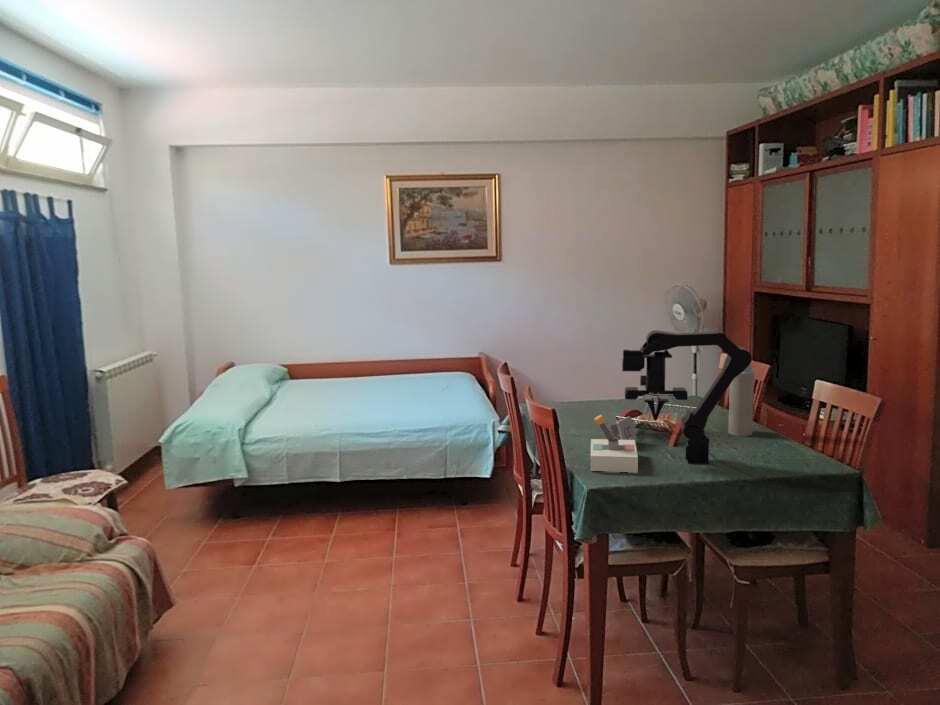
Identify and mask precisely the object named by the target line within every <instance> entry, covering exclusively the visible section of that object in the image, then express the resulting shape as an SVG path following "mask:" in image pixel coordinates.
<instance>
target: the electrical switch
mask: <svg viewBox="0 0 940 705" xmlns="http://www.w3.org/2000/svg"><path fill="white" fill-rule="evenodd" d="M610 429H611V434H612V436H613V437H614V438H618V440H635V444H636V443H637V442H638V439H637V435H636V432H635V428H634V423H633V420H632V416H626V417H624V418H622V419H619V420H618V421H615V422H613V423H612V424H610Z"/></svg>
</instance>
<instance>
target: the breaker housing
mask: <svg viewBox="0 0 940 705" xmlns="http://www.w3.org/2000/svg"><path fill="white" fill-rule="evenodd" d="M614 439H616V441H617V442H609V441H608V439H606V438H604V439H603V438H600V439H599V438H591V439H590V472H591V471H608V472H607V473H610V472H609V471H612V472H611V473H620V472H628V473H627V474H629V473H630V474H638V473H639V466H638V465H639V456H638V450H637V444H636V443H635V440H618V438H614Z"/></svg>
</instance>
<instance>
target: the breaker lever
mask: <svg viewBox="0 0 940 705" xmlns="http://www.w3.org/2000/svg"><path fill="white" fill-rule="evenodd" d="M594 422H595V424H596V425H597V426H599V427H600V429H601V430H602V432H603V434H604V436H605V437H606V438H607V439H608V441H609V442H617V441H616V439H614V437H613V433H612V431H611V430H610V429H609V427H608V425H607V423H606V420H605V417H604V416H603V414H599V415H597V416H596V417H594Z"/></svg>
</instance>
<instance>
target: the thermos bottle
mask: <svg viewBox="0 0 940 705" xmlns="http://www.w3.org/2000/svg"><path fill="white" fill-rule="evenodd" d="M754 392H755V371H754V370H753V364H752V363H750V365H749V366H748V367H747V368H746V369H745V370H744V371H743V372H742V373H741V374H739V375H738V376H737V377H735V378H734V379H733V381H732V382H731V384H730V385H729V393H728V394H729V396H728V398H729V400H728V404H729V406H728V409H729V411H728V431H727V432H728V434H730V435H733V436H737V437H738V436H739V437H748V436H751V435H753V428H754V427H753V426H754V425H753V424H754V397H755V396H754V394H755V393H754Z"/></svg>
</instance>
